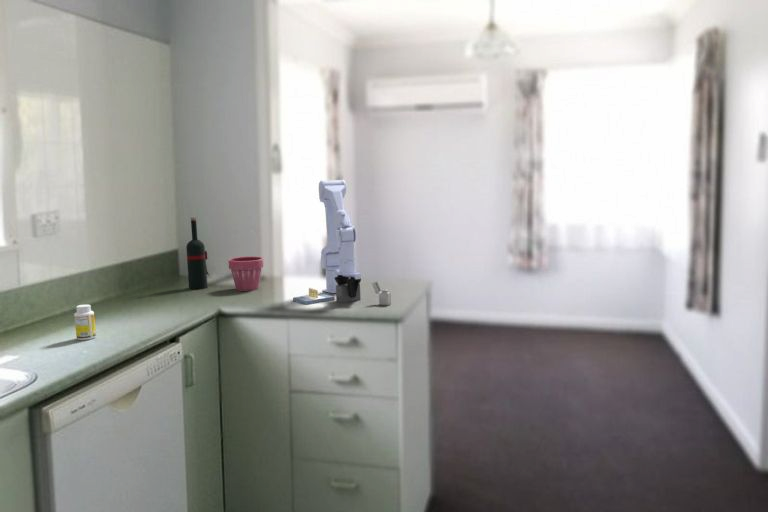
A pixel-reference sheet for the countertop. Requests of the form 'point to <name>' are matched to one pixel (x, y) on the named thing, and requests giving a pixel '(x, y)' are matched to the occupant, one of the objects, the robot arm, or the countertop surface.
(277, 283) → the countertop surface
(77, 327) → the supplement bottle
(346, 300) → the block
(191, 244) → the wine bottle
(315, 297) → the header board
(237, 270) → the plant pot
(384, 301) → the lighter
